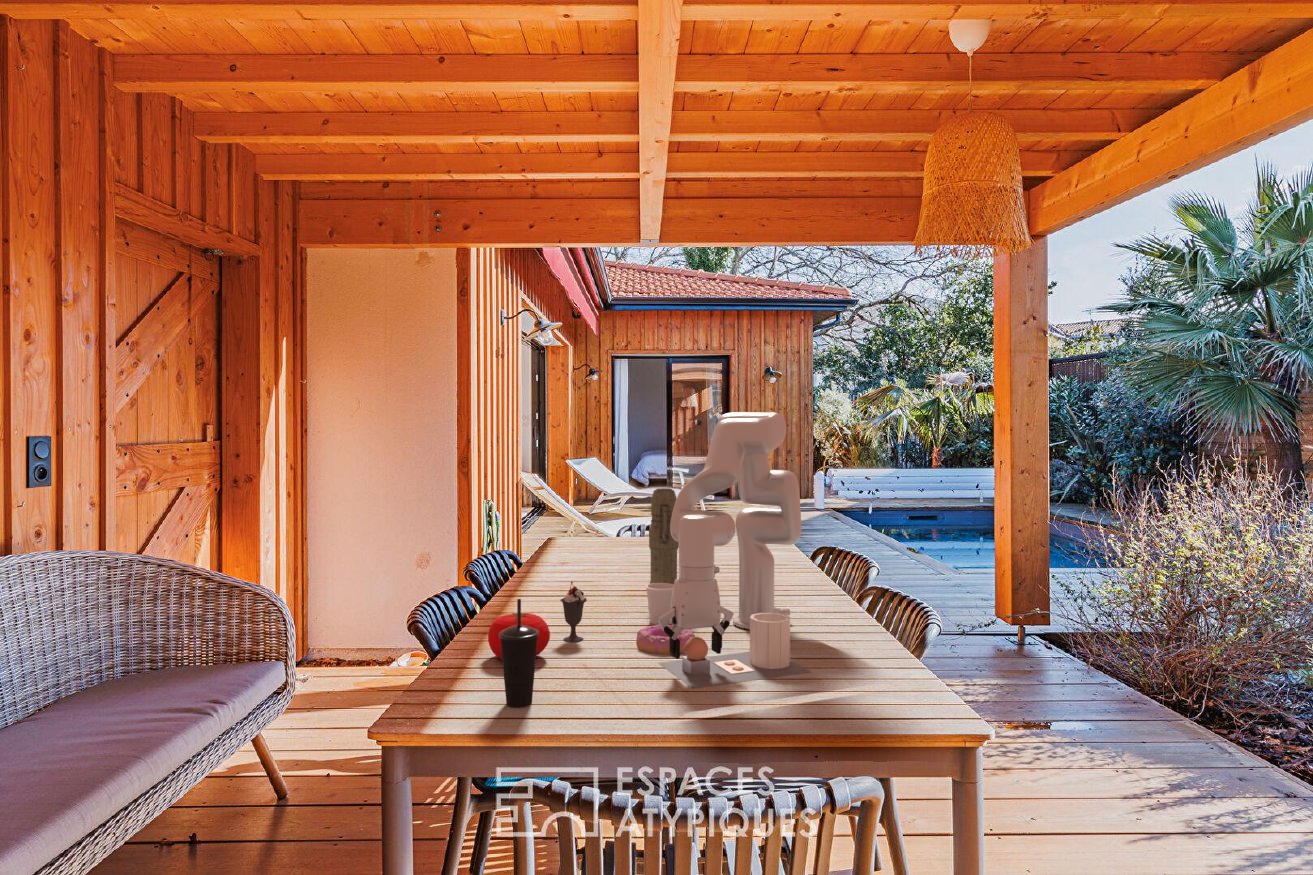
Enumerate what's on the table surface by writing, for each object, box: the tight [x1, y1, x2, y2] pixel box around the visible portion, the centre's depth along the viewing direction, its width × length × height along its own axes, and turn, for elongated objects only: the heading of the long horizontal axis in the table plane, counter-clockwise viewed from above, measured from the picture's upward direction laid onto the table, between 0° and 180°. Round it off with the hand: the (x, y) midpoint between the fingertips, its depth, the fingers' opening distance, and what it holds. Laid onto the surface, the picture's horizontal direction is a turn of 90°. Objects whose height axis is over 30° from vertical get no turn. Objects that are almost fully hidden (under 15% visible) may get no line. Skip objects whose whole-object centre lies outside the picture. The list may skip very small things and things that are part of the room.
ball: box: [684, 636, 709, 661], centre depth 162 cm, size 5×5×5 cm
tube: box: [749, 613, 791, 669], centre depth 169 cm, size 9×9×10 cm
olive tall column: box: [648, 487, 679, 584], centre depth 227 cm, size 9×12×35 cm
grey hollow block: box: [681, 655, 710, 676], centre depth 162 cm, size 4×4×3 cm
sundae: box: [559, 581, 587, 643], centre depth 191 cm, size 7×7×15 cm
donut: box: [635, 624, 696, 655], centre depth 182 cm, size 14×14×5 cm
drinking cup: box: [499, 598, 539, 709], centre depth 147 cm, size 8×8×20 cm
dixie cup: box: [645, 583, 674, 625], centre depth 209 cm, size 8×8×10 cm
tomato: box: [487, 612, 551, 660], centre depth 176 cm, size 14×13×10 cm
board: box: [658, 651, 812, 690], centre depth 165 cm, size 28×18×2 cm, turn 112°
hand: (696, 654), depth 162 cm, fingers open, 9 cm apart
